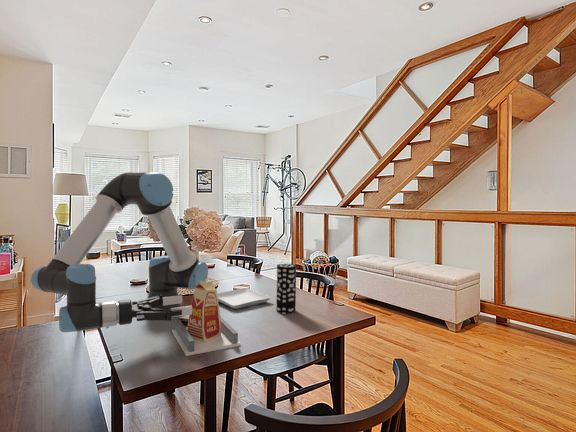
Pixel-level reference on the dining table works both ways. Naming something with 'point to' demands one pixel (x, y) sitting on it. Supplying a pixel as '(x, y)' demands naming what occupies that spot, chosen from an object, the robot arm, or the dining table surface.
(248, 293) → the salad plate
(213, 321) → the milk carton
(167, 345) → the dining table surface
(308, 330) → the dining table surface
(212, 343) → the rail board
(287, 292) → the white-spotted black cylinder
